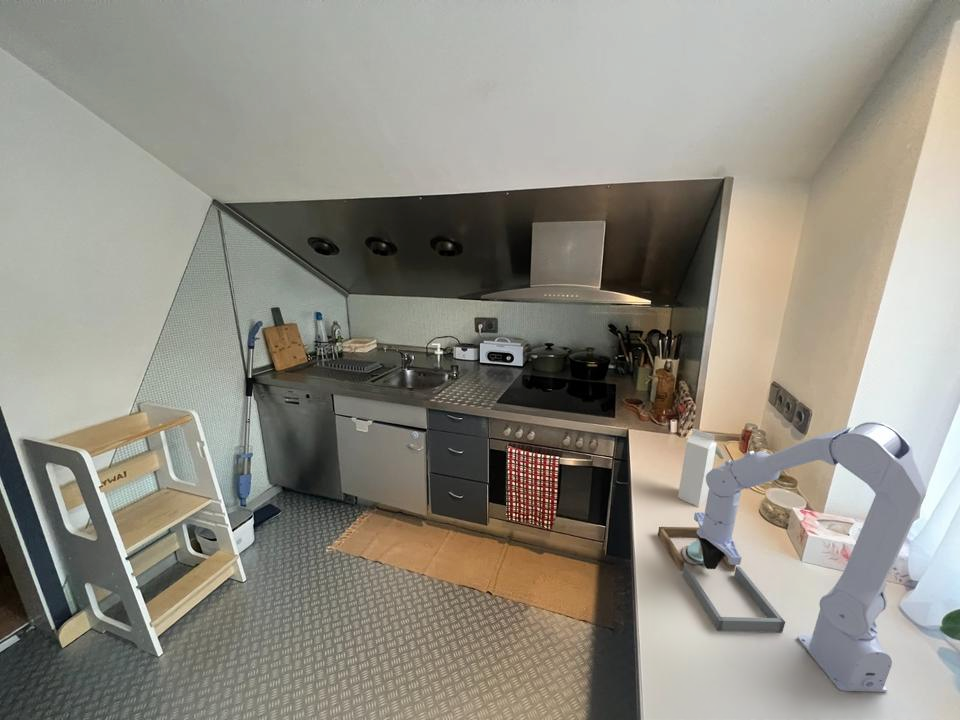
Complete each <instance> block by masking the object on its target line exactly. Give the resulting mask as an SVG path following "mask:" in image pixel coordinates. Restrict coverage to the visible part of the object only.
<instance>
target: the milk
mask: <svg viewBox="0 0 960 720" xmlns="http://www.w3.org/2000/svg"><path fill="white" fill-rule="evenodd" d="M691 430H692V431H691V434H690V435H689V437H688V438H687V440H686V444H685V449H684V450H685V451H684V456H683V463H682V470H681V477H680V481H679V488H678V489H679V490H678V495H677V499H679V498H680V500H681V499H682V501H684V502H686V503H689V504H690V505H692V504H693V505H692V506H694V505H695V507H697V508H699V507H700V506H701V505H703V503H705V501H706V502H707V497H708V492H709V487H708V485H707V483H706V475H707V473H708V472H710V471H711V470H712V469H713V467H714V466H713V465H714V461H715V455H716V450H717V449H716V448H717V444H718V443H717V442H716V441H715V437H716V436H715V435H714V434H711V433H708V432H705V431H701V430H698V429H696V428H693V429H691Z"/></svg>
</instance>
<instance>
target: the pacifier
mask: <svg viewBox="0 0 960 720" xmlns="http://www.w3.org/2000/svg"><path fill="white" fill-rule="evenodd" d="M686 552H687V553H686ZM681 556H682V558H683V559H684V561H686V562H688V563H689V564H692V565H698V564H700V565H702V564H703V565H704V561H703V553H702V548H701V544H700V541H699V540H696V541H693V542H691V543H690V544H689V545H685V546H683V548H682V550H681Z"/></svg>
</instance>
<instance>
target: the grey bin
mask: <svg viewBox="0 0 960 720" xmlns="http://www.w3.org/2000/svg"><path fill="white" fill-rule="evenodd" d="M681 573H682V577H683V578H684V580H685V581H686V583H687V585H688V586H689V588H690V589H691V591H692V592H693V594H694V596H695V598H696V599H697V601H698V602H699V604H700V605H701V607H702V608H703V611H704V612H705V613H706V615H707V617H708V619H710V621H711V623H712V624H713V626H714V628H715V630H716V631H717V632H752V633H753V632H758V633H760V632H761V633H762V632H763V633H764V632H765V633H768V632H769V633H770V632H771V633H783V632H784V627H785V624H786V621H785V620H784V618H783V617H782V616H781V615H780V613H779V612H778V611H777V610H776V609H775V607H774V606H773V605H772V604H771V602H770V601H769V600H768V599H767V598H766V597H765V596H764V594H763V593H762V591H761V590H760V589H759V588H758V587H757V586H756V585H755V583H754V582H753V581H752V580H751V579H750V577H749V576H748V575H747V574H746V572H745V571H744V570H743V569H742V567H741V566H739V565H736V566H735V571H734V573H733V574H734V575H733V576H734V577H735V578H736V580H737V581H738V583H740V585H741V587H743V589H744V590H745V591H746V593H747V594H748V596H749V597H750V598H751V599H752V600H753V601H754V603H755V604H756V605H757V607H758V608H759V609H760V610H761V612H762V613H763V614H764V615H765V617H740V616H739V617H738V616H737V617H735V616H732V617H731V616H721V614H720V613H719V611H718V609H717V608H716V607H715V605H714V604H713V603H712V601H711V600H710V597H709V596H708V595H707V593H706V591H705V590H704V588H703V587H702V585H701V584H700V583H699V581H698V579H697V578H696V576H695V575H694V574H693V572H692V570H691V568H689V565H687V564H686V565H685V564H684V568H683V570H682V572H681Z"/></svg>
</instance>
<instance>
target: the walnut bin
mask: <svg viewBox="0 0 960 720" xmlns="http://www.w3.org/2000/svg"><path fill="white" fill-rule="evenodd" d="M697 530H700V528H699V526H698V527H695V526H694V527H692V526H688V527H686V526H683V527H682V526H681V527H680V526H659V527H658V531H657V536H658V538H659V539H660V541H661V543H662V544H663V546H664V548H665V549H666V550H667V552H668V554H669V556H670V557H671V559H672V560H673V562H674V563H675V566H677V568H678V570H679V571H683V568H684V565H685V561H686V560H685V559H684V557H683V555H682V554H681V553H680V551H679V550H678V549H677V547H676V546H675V544H674V543H673V542H672V539H671V538H683V539H684V538H688V539H689V538H690V539H698V534H697V533H696V532H697ZM721 561H722V562H723V563H724V564H725V566H726V567H727V568H728V569H729V571H730V572H735V569H736V566H737V565H730V563H729V562H728V557H727V556H725V557H724V558H723V559H722V560H721Z"/></svg>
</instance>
